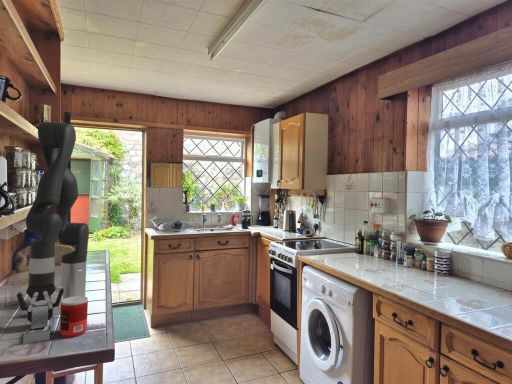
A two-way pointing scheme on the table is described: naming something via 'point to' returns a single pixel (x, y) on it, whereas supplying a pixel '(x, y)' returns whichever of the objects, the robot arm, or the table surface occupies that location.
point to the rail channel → (36, 336)
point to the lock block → (39, 314)
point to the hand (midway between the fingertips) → (40, 320)
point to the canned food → (73, 316)
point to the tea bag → (53, 297)
